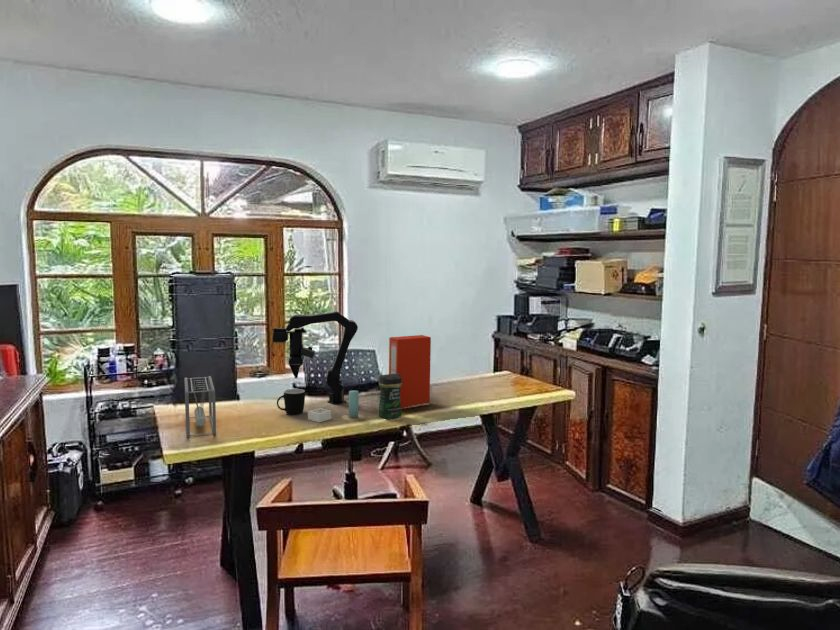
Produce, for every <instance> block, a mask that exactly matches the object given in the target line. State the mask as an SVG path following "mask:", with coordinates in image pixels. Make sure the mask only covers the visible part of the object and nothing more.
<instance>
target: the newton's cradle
mask: <svg viewBox="0 0 840 630" xmlns="http://www.w3.org/2000/svg"><path fill="white" fill-rule="evenodd" d="M196 379H197V383H198V384H197V386H198V388H200V390H196V391H195V386H194V381H193V380H196ZM198 379H203V385H202V384H199V383H202V382H200V381H202V380H198ZM207 379H208V381H207ZM188 380H190V387H191V391H189V383H188ZM198 381H199V382H198ZM183 383H184V405H185V406H184V407H185V427H186V429H185V430H186V437H187V438H190V437H192V436H193V437H196V436H204V435H205V436H206V435H213V436H215V435H217V415H216V414H217V413H216V412H217V411H216V410H217V409H216V389H215V386H214V383H213V379H212V376H211V375H209V376H201V377H184V379H183ZM200 385H201V386H200ZM201 387H203V388H201ZM201 389H202V390H201ZM207 392H208V414H209V415H206V414H205V410H204V406H205V399H206V393H207ZM192 393H193V396H194V400H195V405H196V407H195V408H194V416H192V417H190V401H189V399H190V395H189V394H192ZM196 393H201V398H200V400H201V401H200V402H199V403H200V404H198V399H197V396H196ZM206 418H209V421H210V425H211V426H210V427H211V431H212V432H208V433H207V432H206V433H197V434H196V433H195V434H191V431H190V423H191V422H190V419H195V424H196V426H198V427H204V426H205V424H206V422H207V421H206Z"/></svg>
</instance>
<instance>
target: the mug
mask: <svg viewBox="0 0 840 630" xmlns="http://www.w3.org/2000/svg"><path fill="white" fill-rule="evenodd" d="M280 399H283V401H284V408H282V407H281V406H280V404H279V403H280ZM305 400H306V391H305V389H302V388H289V389H286V390H284V391H283V395H281V396H279V397H278V398H277V400H276V405H277V409H279V410H281V411H284V412H286V414H287V415H288V416H299V415H303V412H304V409H305V402H306V401H305Z"/></svg>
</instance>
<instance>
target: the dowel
mask: <svg viewBox="0 0 840 630" xmlns="http://www.w3.org/2000/svg"><path fill="white" fill-rule="evenodd" d="M348 414H349V418H358V414H359V390H355V389H354V390H349V391H348Z"/></svg>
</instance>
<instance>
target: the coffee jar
mask: <svg viewBox="0 0 840 630" xmlns="http://www.w3.org/2000/svg"><path fill="white" fill-rule="evenodd" d="M378 380H379V381H378V385H379V389H380V394H379V403H378V412H377V414H378V416H379V417H380V418H381V419H385V420H391V418H392V419H396V418H397V417H398V418H401V416H402V410H401V400H400V388H401V385H402V378H401V375H399V374H389V373H388V374H381V375H380V376H379V378H378Z"/></svg>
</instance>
